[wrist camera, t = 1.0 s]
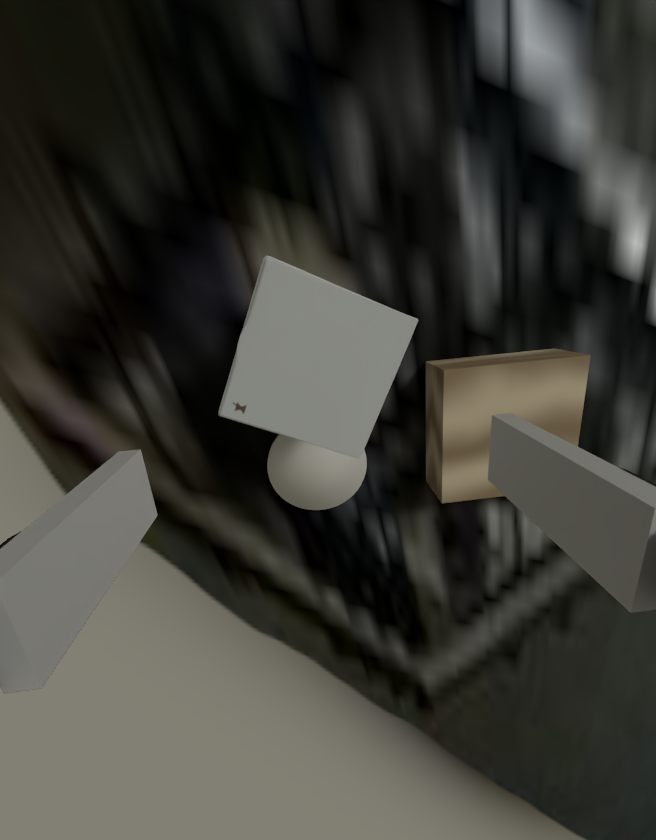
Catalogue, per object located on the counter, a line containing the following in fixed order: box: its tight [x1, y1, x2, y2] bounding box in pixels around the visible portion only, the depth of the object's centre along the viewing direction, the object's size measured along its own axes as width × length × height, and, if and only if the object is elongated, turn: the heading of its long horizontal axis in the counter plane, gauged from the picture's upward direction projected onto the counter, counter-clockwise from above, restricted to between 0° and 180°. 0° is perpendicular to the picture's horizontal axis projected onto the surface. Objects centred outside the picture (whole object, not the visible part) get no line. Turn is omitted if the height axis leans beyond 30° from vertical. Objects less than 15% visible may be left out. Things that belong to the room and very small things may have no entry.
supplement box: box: [218, 256, 418, 459], centre depth 27 cm, size 9×9×15 cm
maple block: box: [426, 349, 591, 503], centre depth 35 cm, size 13×13×5 cm
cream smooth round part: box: [267, 434, 367, 510], centre depth 37 cm, size 10×10×1 cm
